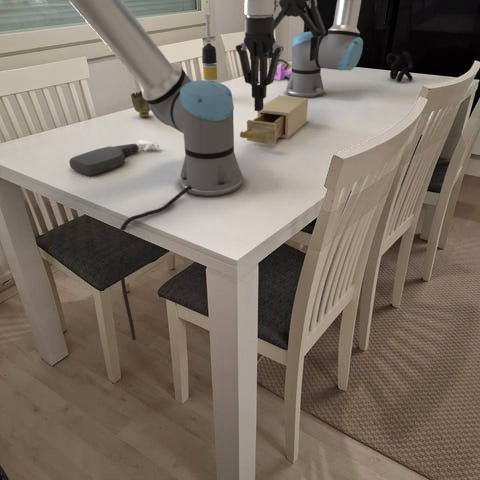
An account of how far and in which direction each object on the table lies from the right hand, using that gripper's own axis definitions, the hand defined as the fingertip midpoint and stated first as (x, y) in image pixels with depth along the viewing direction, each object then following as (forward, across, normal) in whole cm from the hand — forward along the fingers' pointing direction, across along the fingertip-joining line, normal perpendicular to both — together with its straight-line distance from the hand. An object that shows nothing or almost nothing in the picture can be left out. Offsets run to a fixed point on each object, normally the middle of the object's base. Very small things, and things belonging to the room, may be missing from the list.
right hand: (291, 58), depth 139 cm
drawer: (+19, 0, +18) cm, 26 cm away
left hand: (+9, 0, +25) cm, 27 cm away
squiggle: (+21, -24, -78) cm, 84 cm away
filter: (+21, +40, -18) cm, 48 cm away
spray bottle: (+20, +33, +49) cm, 63 cm away
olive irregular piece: (+20, +50, +13) cm, 56 cm away
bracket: (+21, +27, -65) cm, 74 cm away
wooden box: (+20, 0, +5) cm, 21 cm away
